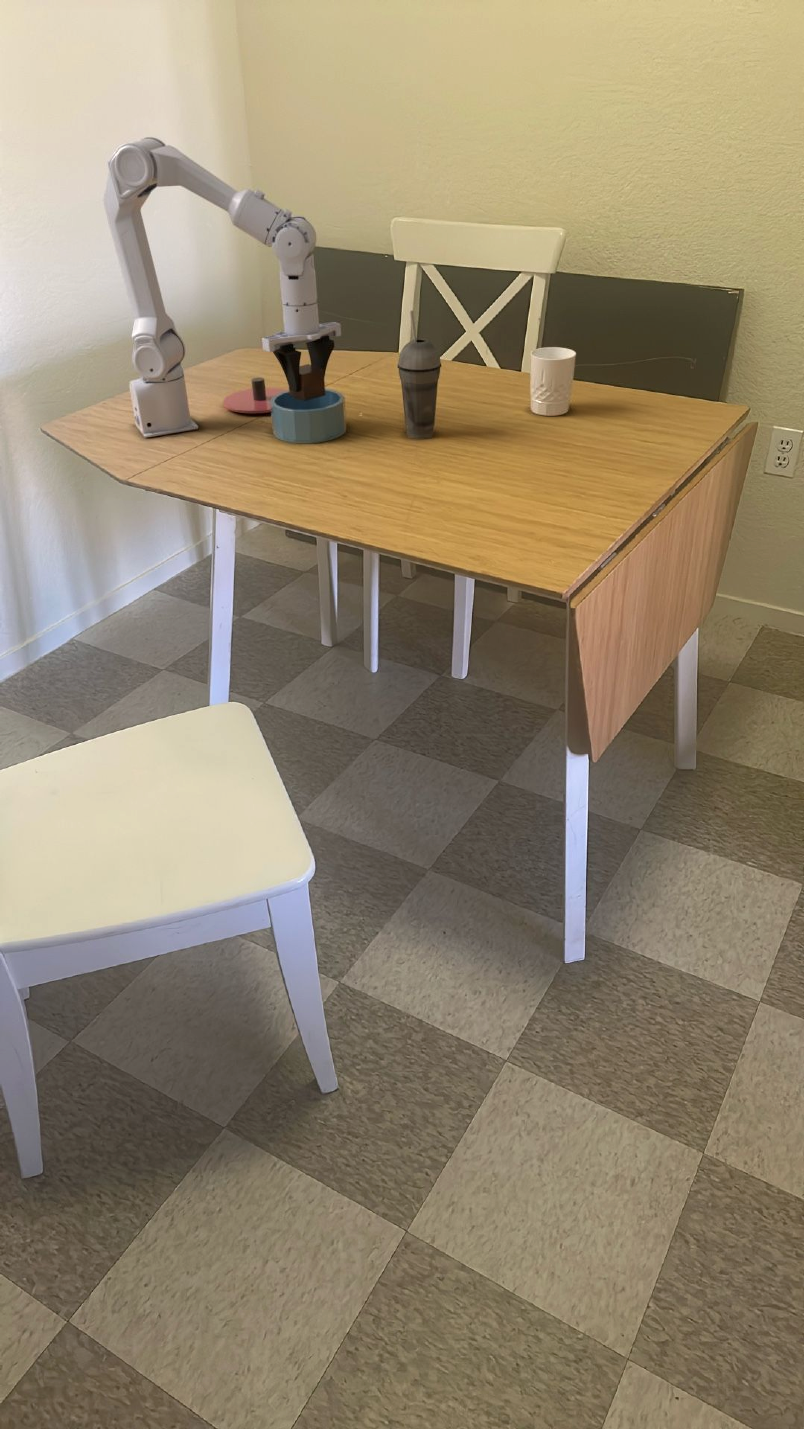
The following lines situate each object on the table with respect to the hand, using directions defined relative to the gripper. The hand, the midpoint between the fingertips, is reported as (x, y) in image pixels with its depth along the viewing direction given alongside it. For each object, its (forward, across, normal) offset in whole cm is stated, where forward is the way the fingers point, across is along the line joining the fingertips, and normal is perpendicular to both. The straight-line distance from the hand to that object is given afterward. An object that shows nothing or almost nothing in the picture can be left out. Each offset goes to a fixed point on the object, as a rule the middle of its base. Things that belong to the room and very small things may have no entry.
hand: (306, 387), depth 165 cm
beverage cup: (+8, +13, -15) cm, 21 cm away
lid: (+7, +2, +18) cm, 20 cm away
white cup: (+8, +38, -22) cm, 44 cm away
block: (+1, 0, 0) cm, 1 cm away
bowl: (+8, 0, 0) cm, 8 cm away
